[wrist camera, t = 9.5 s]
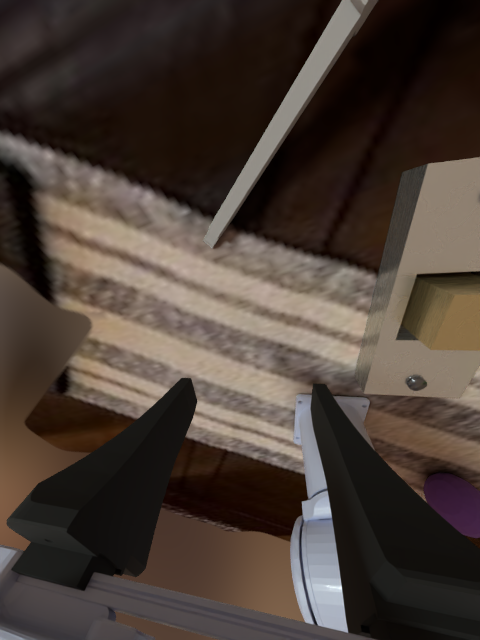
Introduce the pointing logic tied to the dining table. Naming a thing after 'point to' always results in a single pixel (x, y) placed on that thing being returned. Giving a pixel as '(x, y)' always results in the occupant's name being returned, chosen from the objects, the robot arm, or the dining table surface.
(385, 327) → the white slotted plate
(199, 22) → the dining table surface
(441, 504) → the purple maraca
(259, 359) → the dining table surface
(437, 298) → the block
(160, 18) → the dining table surface
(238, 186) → the caliper
